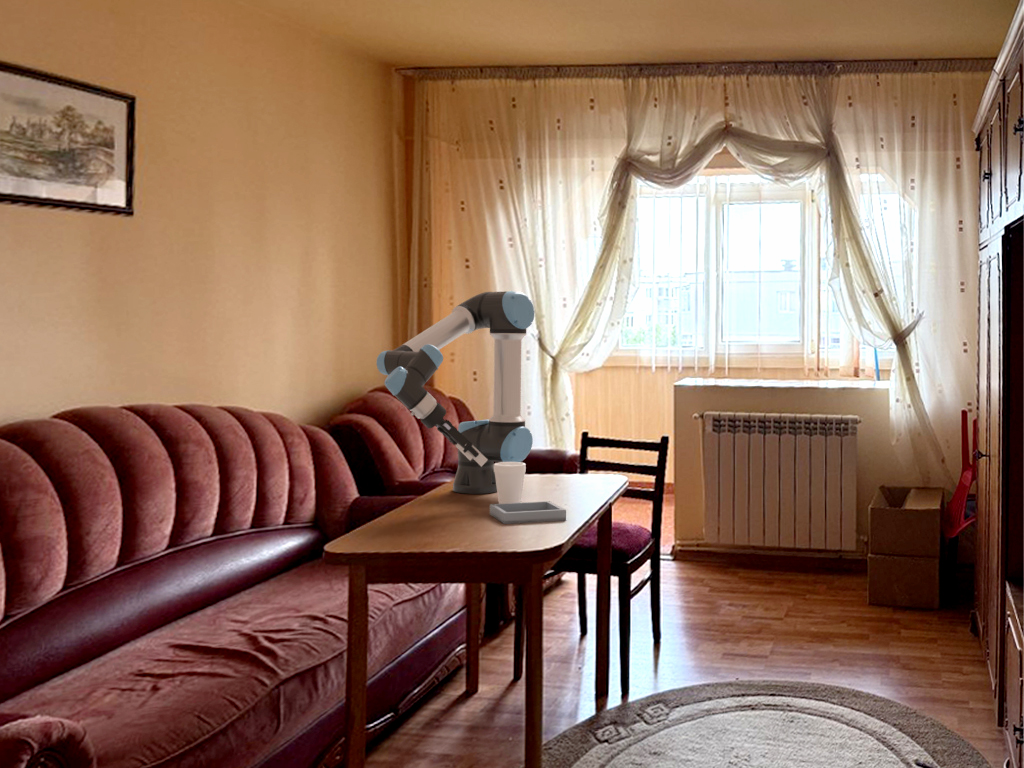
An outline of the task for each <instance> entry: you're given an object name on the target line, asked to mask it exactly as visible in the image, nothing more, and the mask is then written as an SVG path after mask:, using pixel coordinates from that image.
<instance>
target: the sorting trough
mask: <svg viewBox="0 0 1024 768" xmlns="http://www.w3.org/2000/svg"><path fill="white" fill-rule="evenodd" d="M489 515H490V516H491V517H493V518H495V519H496V520H498V521H499V522H500V523H502V524H503V525H510V524H512V525H513V524H526V523H528V524H529V523H544V522H546V523H547V522H562V521H563V522H565V521H567V510H566V509H565V508H563V507H561V506H560V505H558V504H556V503H554V502H552V501H550V500H544V501H527V502H526V501H524V502H522V501H521V503H503V504H499V503H490V504H489Z"/></svg>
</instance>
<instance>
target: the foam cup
mask: <svg viewBox="0 0 1024 768" xmlns="http://www.w3.org/2000/svg"><path fill="white" fill-rule="evenodd" d="M526 465H527V464H526V463H525V462H522V461H521V462H500V461H498V462H495V463H494V472H495V479H496V486H497V492H496V494H497V500H498V504H503V503H521V502H522V498H523V491H524V483H525V474H526V469H527V467H526Z"/></svg>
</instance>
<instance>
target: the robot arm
mask: <svg viewBox="0 0 1024 768" xmlns="http://www.w3.org/2000/svg"><path fill="white" fill-rule="evenodd" d="M534 319H535V307H534V304H533V302H532V300H531V299H530V298H529V296H528V295H527V294H525V293H523V292H522V291H514V290H509V291H484V292H481V293H478V294H476V295H473V296H471V297H469V298H468V299H466V300H465V301H463V302H461V303H459V304H458V305H455V307H454V308H453V309H452V311H451V313H450V314H448V315H447V316H445V317H444V318H442V319H441V320H439V321H437V322H436V323H434V324H432V325H431V326H429V327H428V328H426V329H424V330H423V331H422V332H420V333H419V334H417V335H415V336H414V337H412V338H411V339H408V341H406V342H404V343H403V344H401V345H399V346H398V347H396V348H395V349H392V350H391V349H390V350H389V349H388V350H383V351H382V352H380V353H379V354H378V356H377V357H376V367H377V370H378V372H379V373H380V374H382V375H384V376H387V377H386V378H385V379H384V386H385V388H386V389H387V390H388V391H389V392H390V393H391V394H392V396H394V397H395V398H396V399H397V400H398V401H399V402H400V403H401V404H402V405H403V406H405V407H406V409H408V410H409V411H410V412H411V413H410V415H411V416H415V418H417V419H418V420H419V419H420V422H421V423H422V424H423V425H424V426H425V427H426V428H427V429H433V428H434V427H436V430H437V431H438V432H439V433H441V435H443V436H444V437H445V438H446V439H447V440H448V441H449V443H451V444H452V445H454V446H455V448H457V461H458V462H457V465H458V466H457V470H456V473H455V477H454V480H453V484H452V491H453V492H454V493H458V494H469V495H470V494H471V495H472V494H476V495H477V494H478V495H479V494H490V493H491V494H492V493H497V486H496V479H495V472H494V464H495V463H494V462H521V463H522V462H523V461H524V460H525V459H526V458H527V457H528V455H529V454H530V452H531V450H532V447H533V441H534V440H533V438H534V437H533V434H532V433H531V430H530V429H529V428H527V427H526V420H525V418H524V417H523V416H522V415H521V412H522V411H521V408H522V407H521V403H522V402H521V401H522V400H521V399H522V398H521V397H522V396H521V395H522V393H521V391H522V389H521V387H522V386H521V385H522V339H523V338H525V336H526V335H527V329H528V328H529V327H531V325H532V323H533V322H534ZM481 329H489V335H490V336H491V337H492V338H493V340H494V343H493V344H494V347H493V348H494V349H493V351H494V352H493V355H494V357H493V358H494V359H493V360H494V361H493V414H492V416H491V417H490V418H489V419H478V420H471V421H462V422H460V423H459V424H458V426H457V428H456V426H454V425H453V423H452V422H451V421H450V420H448V419H444V417H445V415H447V409H445V408H444V407H443V405H441V403H439V402H437V399H436V398H434V396H432V394H431V393H430V392H428V390H426V389H425V388H424V386H425V384H426V383H427V382H428V381H429V380H430V378H432V376H433V375H434V374H435V373H436V371H438V369H439V367H440V366H441V364H442V363H443V361H444V356H443V353H442V352H441V349H442V348H444V347H446V346H447V345H448V344H451V343H452V342H453V341H455V340H456V339H458V338H460V337H461V336H462V335H464V334H466V335H468V334H471V333H473V332H474V331H477V330H481Z"/></svg>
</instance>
